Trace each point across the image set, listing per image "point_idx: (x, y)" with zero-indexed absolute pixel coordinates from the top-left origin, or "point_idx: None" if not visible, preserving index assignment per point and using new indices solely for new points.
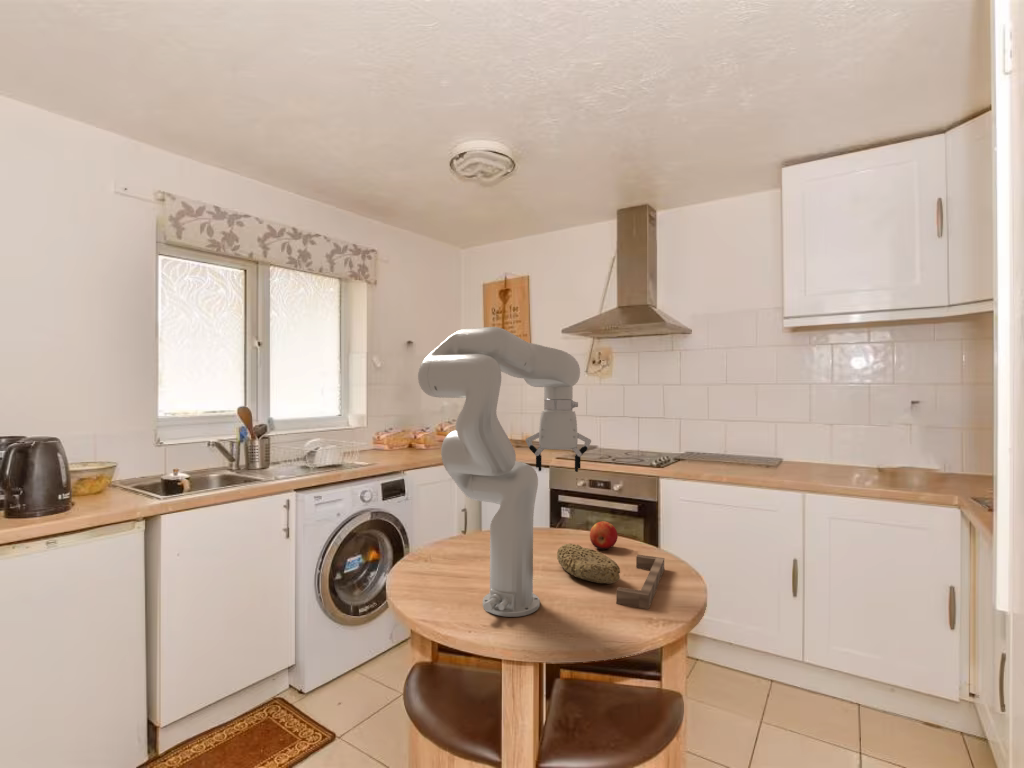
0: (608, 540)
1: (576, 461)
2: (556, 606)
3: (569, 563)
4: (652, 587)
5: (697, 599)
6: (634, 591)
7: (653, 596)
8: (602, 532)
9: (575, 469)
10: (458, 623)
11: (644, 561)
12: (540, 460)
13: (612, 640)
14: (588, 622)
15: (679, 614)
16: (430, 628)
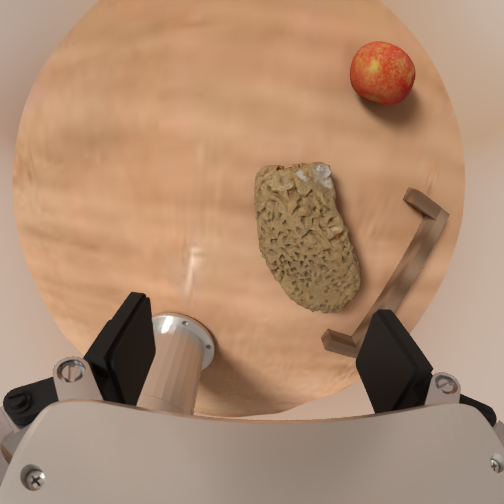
0: (388, 104)
1: (377, 406)
2: (237, 347)
3: (272, 269)
4: None
5: (421, 316)
6: (347, 351)
7: None
8: (384, 97)
9: (359, 371)
10: None
11: (420, 209)
12: (134, 397)
13: (287, 402)
14: (271, 378)
15: None
16: None
